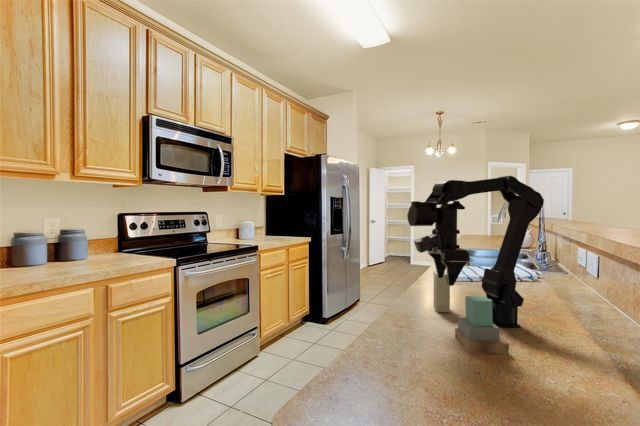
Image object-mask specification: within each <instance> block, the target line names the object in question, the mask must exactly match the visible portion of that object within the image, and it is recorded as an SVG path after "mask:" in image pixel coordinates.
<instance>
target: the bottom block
mask: <svg viewBox="0 0 640 426" xmlns="http://www.w3.org/2000/svg"><path fill="white" fill-rule="evenodd" d="M454 331H455V332H454V333H455V334H454V336H455V337H454V339H455V340H457V342H458V343H459V344H460V346H462V348H463V349H464V350H465V351H466V352H467V353H468V354H469V355H470V354H471V355H472V354H473V355H474V354H475V355H478V354H479V355H504V356H505V355H506V356H507V355H510V354H509V353H510V343H509V342H507V341H506V339H504V338H502V337H501V336H500V338H499V341H469V340H468V339H467V338H466V337H465V336H464V335H463V334H462V333H461V332H460V331H459V330H458V327H457V328H455V329H454Z"/></svg>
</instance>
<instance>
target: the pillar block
mask: <svg viewBox="0 0 640 426" xmlns="http://www.w3.org/2000/svg"><path fill="white" fill-rule="evenodd" d="M464 297H465V298H464V299H465V301H464V303H465V318H466V320H467V321H468V322H469V323H470V324H471V325H473V326H493V317H492V301H491V299H488V298H487V296H486V295H466V296H464Z"/></svg>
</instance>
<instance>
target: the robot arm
mask: <svg viewBox="0 0 640 426" xmlns="http://www.w3.org/2000/svg"><path fill="white" fill-rule="evenodd" d="M498 191H499V192H500V194H501V196H502V198H503V199H504V200H505V201H506V202H507V203H508V206H507V212H508V215H509V221H508V224H507V227H506V231H505V234H504V236H503V240H502V243H501V245H500V246H501V247H500V249H499V252H498V254H497V255H498V256H497V258H496V261H495V264H494V266H492V267H491V268H487V267H486V268H485V269H484V271H483V276H482V278H481V280H480V282H481V288H482V290H483V292H484V294H485V297H486V298H488V299H490V300H491V301H492V317H493V324H494V325H496V326H497V327H499V328H521V327H522V326H521V325H520V324H519V323H518V316H519V315H518V314H519V313H518V311H519V310H518V307H523V303H524V300H525V299H524V298H523V296H521V295H520V293H519V292H518V291H517V290H516V288H517V287H516V286H517V278H516V274H515V268H516V265H517V263H518V259H519V255H520V253H521V250H522V247H523V243H524V241H525V238H526V234H527V232H528V229H529V226H530V223H532V221H534V220H535V219H536V218H537V217H538V216H539V214H540V212H541V210H542V208H543V206H544V204H545V200H544V198H543V195H542V194H541V193H540V192H538V191H536V190H535V189H534V188H533V187H531V186H529V185H527V184H525V183H524V182H522V181H520V180H518V179H517V178H516V177H515V176H512V175H504V176H502V175H501V176H499V177H495V178H488V179H479V180H472V181H466V180H460V179H459V180H456V179H450V180H441V181H437V182H435V183H434V185H433V186H432V190H431V193H430V194H429V195H428V197H427V198H426V199H425V201H414V200H413V201H410V207H409V208H408V212H407V214H406V215H407V222H408V224H409V226H411V227H432V226H434V228H432V230H431V234H429V235H425V236H422V237H419V238H416V239H413V243H414V246H415V248H416V251H417V252H419V253H421V254H422V253H425V252H426V253H427V255H429V256H430V257H431V258H432V260H433V262H434V266H435V271H437V274H438V277H439V278H442V277H443V275H444V272H447V277H448V283H449V286H450V287H453V286H454V285H455V283H456V282H457V280H458V278H459V275H460V274H461V272H462V271H463V268H464V267H465V265H466V264H468V262H470V259H471V258H470V255H471V254H470V252H468V250H467V249H465V248H460V244H458V235H460V233H461V232H460V229H458V210H466V207H465V206H464V205H463V204H462V203H461V202H460V201H459V200H461V199H464V198H466V197H469V196H471V195H476V194H477V195H478V194H483V193H491V192H498ZM449 202H452V203H449ZM438 205H439V207H437V206H438ZM434 224H435V225H434Z"/></svg>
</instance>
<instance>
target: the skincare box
mask: <svg viewBox="0 0 640 426" xmlns="http://www.w3.org/2000/svg"><path fill="white" fill-rule="evenodd" d="M450 295H451V286H449V283H448V277H447V271H445V272H444V275H443V277H442V278H439V277H438V274H437V270H433V308H434V310H435V312H437V313H450V311H451V305H450V304H451V303H450V301H451V296H450Z"/></svg>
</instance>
